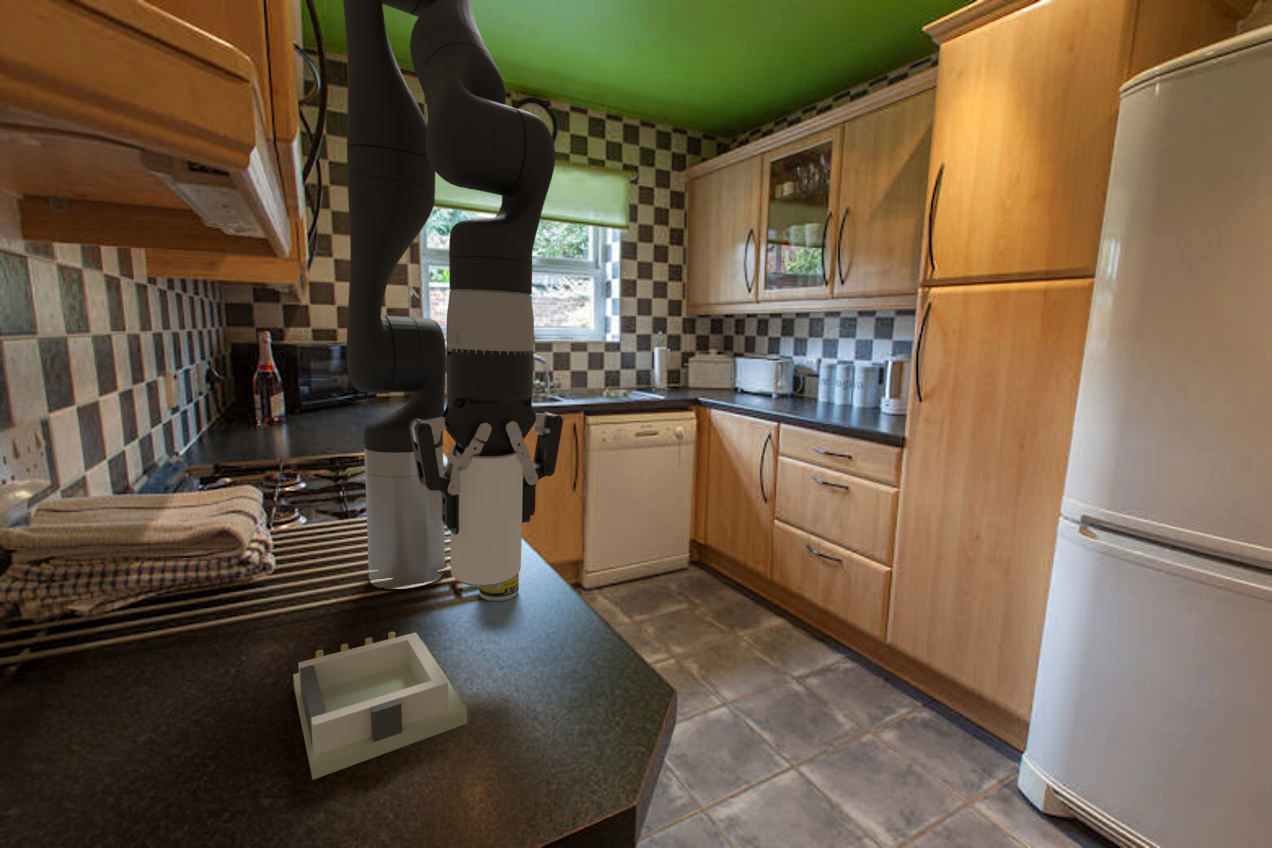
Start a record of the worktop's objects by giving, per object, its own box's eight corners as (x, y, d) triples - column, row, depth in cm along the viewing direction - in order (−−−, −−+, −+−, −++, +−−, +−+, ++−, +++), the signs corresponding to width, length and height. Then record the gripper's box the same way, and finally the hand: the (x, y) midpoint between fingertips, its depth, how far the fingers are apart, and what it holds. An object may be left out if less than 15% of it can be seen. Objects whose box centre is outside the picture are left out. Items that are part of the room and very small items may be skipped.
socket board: (293, 687, 50) (291, 648, 50) (422, 651, 57) (421, 617, 56) (312, 779, 40) (310, 732, 40) (467, 723, 46) (466, 682, 46)
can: (467, 594, 50) (467, 460, 48) (440, 568, 55) (439, 445, 53) (533, 577, 54) (536, 453, 52) (502, 554, 59) (504, 440, 57)
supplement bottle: (509, 604, 68) (509, 535, 66) (472, 599, 68) (471, 531, 67) (525, 587, 72) (525, 523, 71) (490, 583, 73) (489, 520, 72)
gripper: (544, 344, 58) (541, 504, 61) (395, 341, 50) (399, 526, 53) (582, 349, 52) (576, 525, 55) (419, 345, 44) (422, 554, 47)
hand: (489, 525), depth 54 cm, fingers closed on can, 6 cm apart
